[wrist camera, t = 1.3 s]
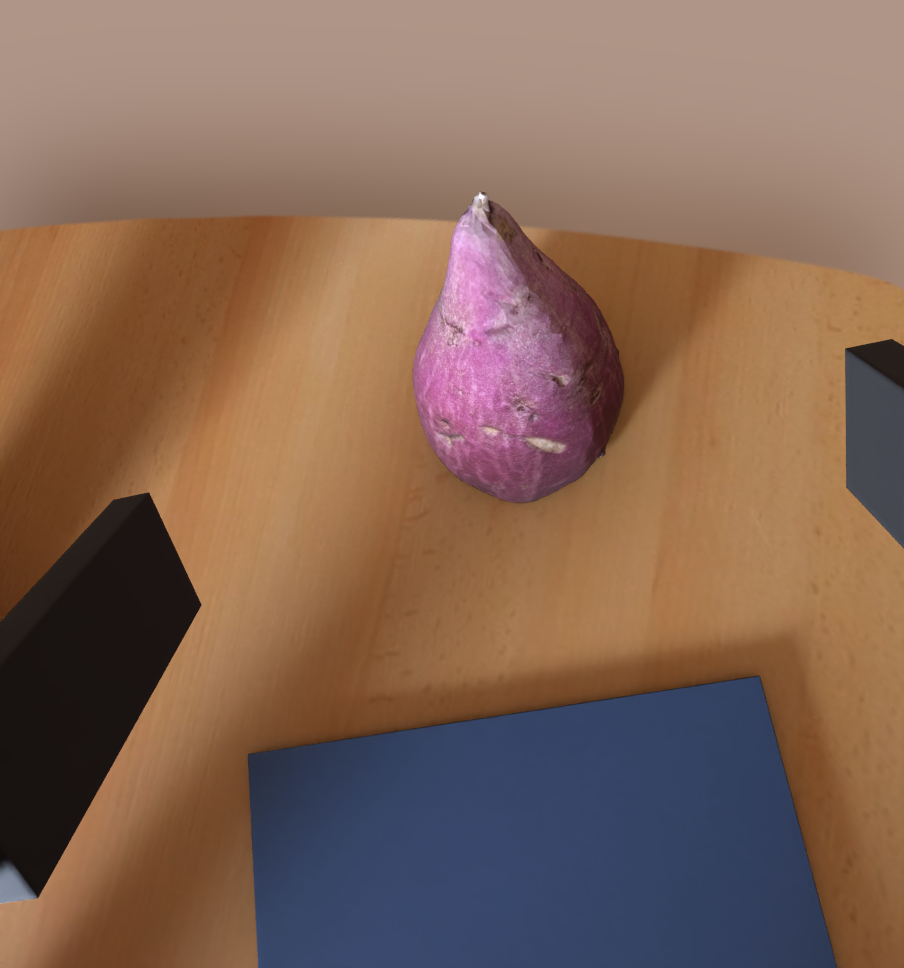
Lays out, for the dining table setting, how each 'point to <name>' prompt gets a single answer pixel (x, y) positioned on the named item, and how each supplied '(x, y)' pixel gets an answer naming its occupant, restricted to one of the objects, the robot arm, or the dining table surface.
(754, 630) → the dining table surface
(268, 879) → the blue rectangular board
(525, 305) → the vegetable
